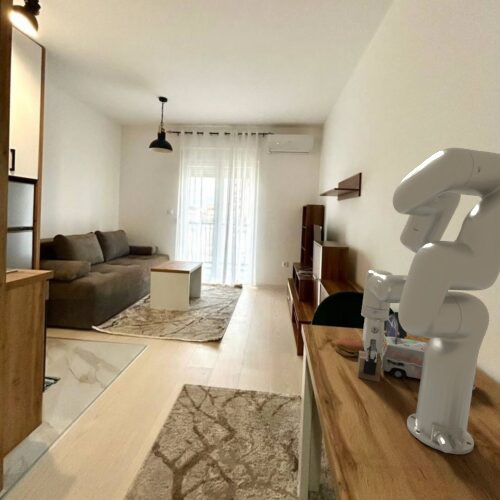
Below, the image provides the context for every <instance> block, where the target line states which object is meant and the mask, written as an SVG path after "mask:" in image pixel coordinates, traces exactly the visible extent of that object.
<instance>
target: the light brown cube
mask: <svg viewBox="0 0 500 500" xmlns="http://www.w3.org/2000/svg"><path fill="white" fill-rule="evenodd" d="M369 354H370V353H369ZM369 354H368V355H369ZM365 360H366V352H364V351H359V356H358V358H357V367H356V369H357V378H360V379H365V380H369V381H375V382H379V383H380V382H381V381H380V380H381V375H382V374H381V373H382V370H381V367H382V360H381V354H379V353H377V361H376V362H377V364H376V372H375V375H374V376H373V375H368V374H364V373H363V369H364V362H365Z"/></svg>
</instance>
